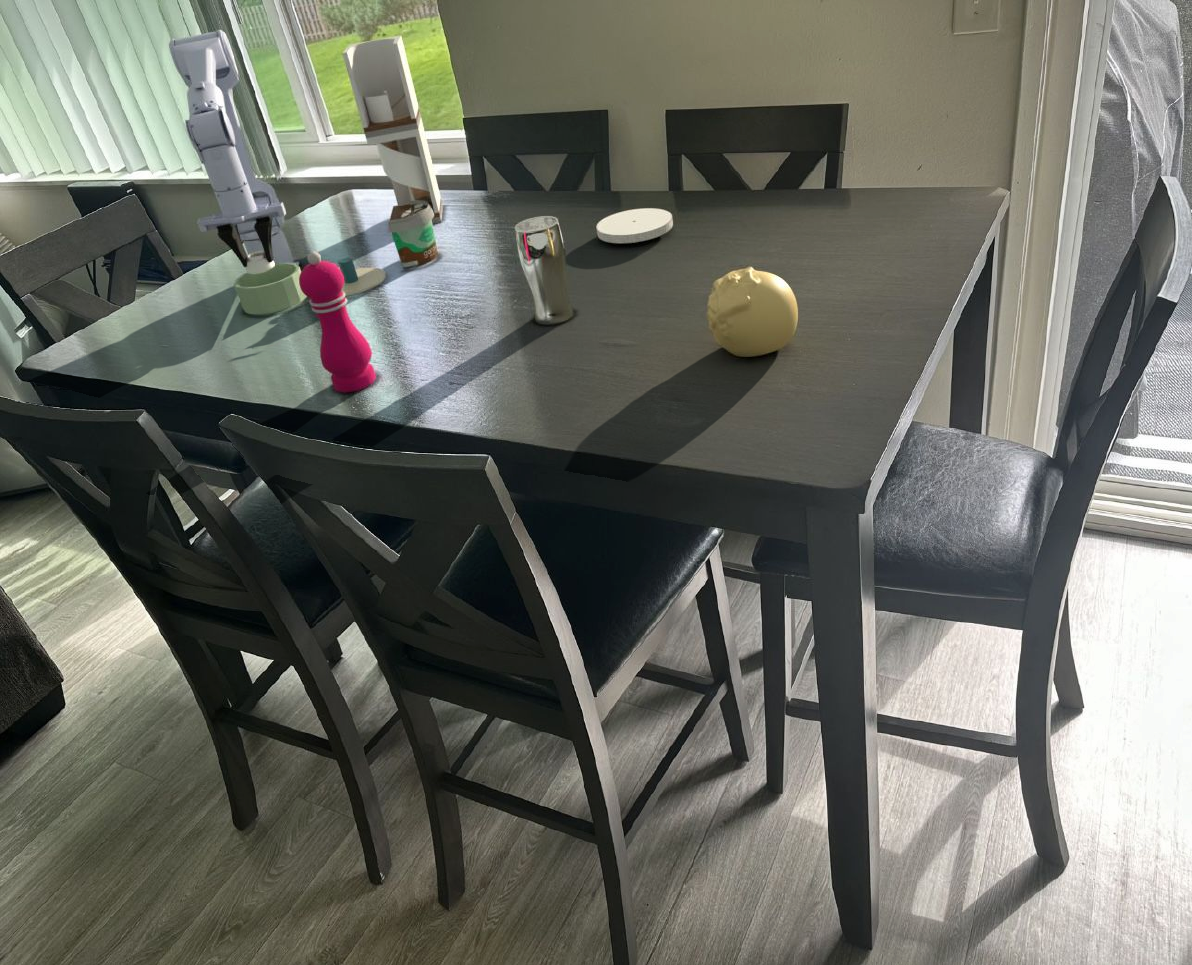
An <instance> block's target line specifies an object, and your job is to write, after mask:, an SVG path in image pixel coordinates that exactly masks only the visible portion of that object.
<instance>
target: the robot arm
mask: <svg viewBox="0 0 1192 965" xmlns="http://www.w3.org/2000/svg"><path fill="white" fill-rule="evenodd" d="M168 49H169V52H170V57H171V59H172V62H173V64H174V66H175V69H176V70H177V72H178V74H179V75H180V77H181V78H182V81H183V83H184V85H185V86H187V87H188V89H187V92H186V98H187V99H186V100H187V106H188V114H189V117H188V119H185V120H184V124H185V128H186V132H187V136H188V138H189V140H190V142H191V145H192V147H193V149H194V150H195V152H196V154H197V156H198V160H199V161H200V163H201V164H202V165H203V166H204V169H205V172H206V174H207V177H208V180H209V182H210V185H211V188H212V190H213V194H214V196H215V198H216V201H217V203H218V206H219V209H220V211H221V212H219V213H215V214H212V215H208V216H205V217H199V218H198V220H197V221H196V223H197V226H198V228H199V231H200V233H206V232H208V231H211V230H216V229H217V236H218V238H219V239H220V240H221V241H223V242H224V243H225V245H227V246H228V247H229V248H230V250H231V251H232V252H233V253H234V255H236V257H237V259H238V260H239V262H240V263H241V265H242V267H243V268H246V267H247V260H248V259H247V256H248V255H249V254H251V253H254V252H258V251H263V252H265V256H266V258H267V261H268V262H272V261H274V263H275V264H277V263H293V264H297V265H298V266H299V265H300V261H294V259H293V255H292V252H291V249H290V246H289V244H288V241H287V238H286V236H285V233H284V232H283V230H281V228H283V227H284V226H285V223H286V221H285V216H286V215H287V211H286V207H285V205H284V202H283V201H282V202H280V200H279V198H278V196H277V192H276V190H275V188H274V187H273V186H272V185H271V184H270V183H267V182H265V181H263V180H261V179H259V178H257V177H256V173H255V171H254V167H253V163H252V160H251V157H250V154H249V151H248V146H247V144H246V140H245V137H244V133H243V130H242V127H241V123H240V120H239V116H238V112H237V110H236V106H235V103H234V93H233V92H234V91H233V88H234V87H235V86H236V85H237V84H238V83H239V82H240V79H239V70H238V67H237V63H236V60H235V56H234V52H233V49H232V46H231V43H230V40H229V38H228V36H227V34H226V32H225V31H223V30H222V29H217V30H216V31H210V32H206V33H201V34H195V35H191V36H186V37H180V38H171V39H170V41H169V43H168ZM243 244H244V245H243Z"/></svg>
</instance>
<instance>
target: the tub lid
mask: <svg viewBox="0 0 1192 965" xmlns="http://www.w3.org/2000/svg"><path fill="white" fill-rule="evenodd" d="M337 264H338V267H339V269H340V270H341V272H342V274H343V276H344V286H343V288H342V291H343V292H344V293H345V297H350V296H354V295H359V294H361V293H365V292H367V291H369V290H371V289H374V288H375V287H377V286H380V284H382V283H383V282H384V281H385V279H386V277H387V273H386V272H385V270H383V269H381V268H379V267H359V268H356V267H355V263H354V261H353V258H352V257H343V258H340V259H339V260H338V261H337Z"/></svg>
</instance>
